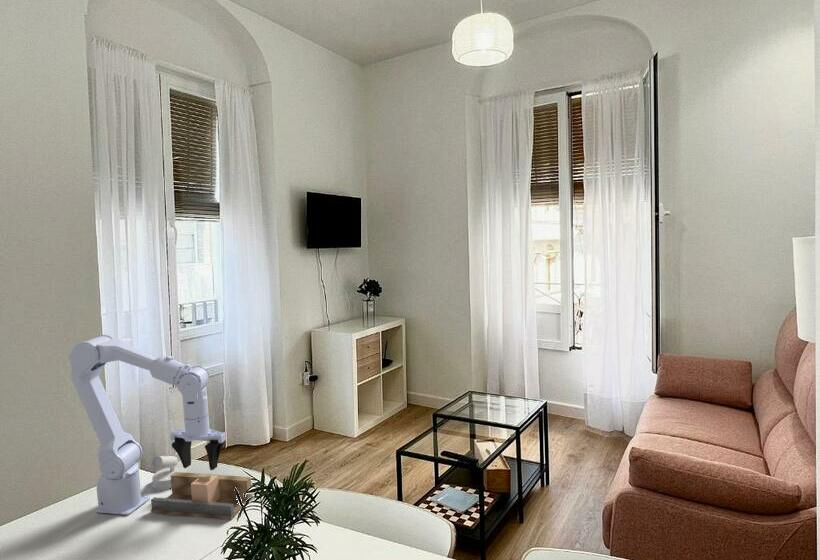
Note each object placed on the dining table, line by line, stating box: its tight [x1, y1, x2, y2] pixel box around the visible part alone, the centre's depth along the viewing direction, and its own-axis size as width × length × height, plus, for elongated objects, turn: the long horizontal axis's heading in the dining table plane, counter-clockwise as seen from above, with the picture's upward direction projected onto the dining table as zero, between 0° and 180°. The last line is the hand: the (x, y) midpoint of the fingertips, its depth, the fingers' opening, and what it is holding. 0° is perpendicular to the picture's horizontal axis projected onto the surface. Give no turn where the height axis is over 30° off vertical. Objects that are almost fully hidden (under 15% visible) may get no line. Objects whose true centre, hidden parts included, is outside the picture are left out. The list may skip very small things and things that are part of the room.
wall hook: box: [151, 455, 187, 491], centre depth 143 cm, size 9×10×10 cm
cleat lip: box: [150, 496, 234, 516], centre depth 126 cm, size 22×1×2 cm, turn 78°
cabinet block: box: [191, 474, 220, 502], centre depth 130 cm, size 4×5×7 cm
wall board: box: [150, 472, 253, 521], centre depth 130 cm, size 22×10×6 cm, turn 78°
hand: (200, 467), depth 131 cm, fingers open, 7 cm apart
